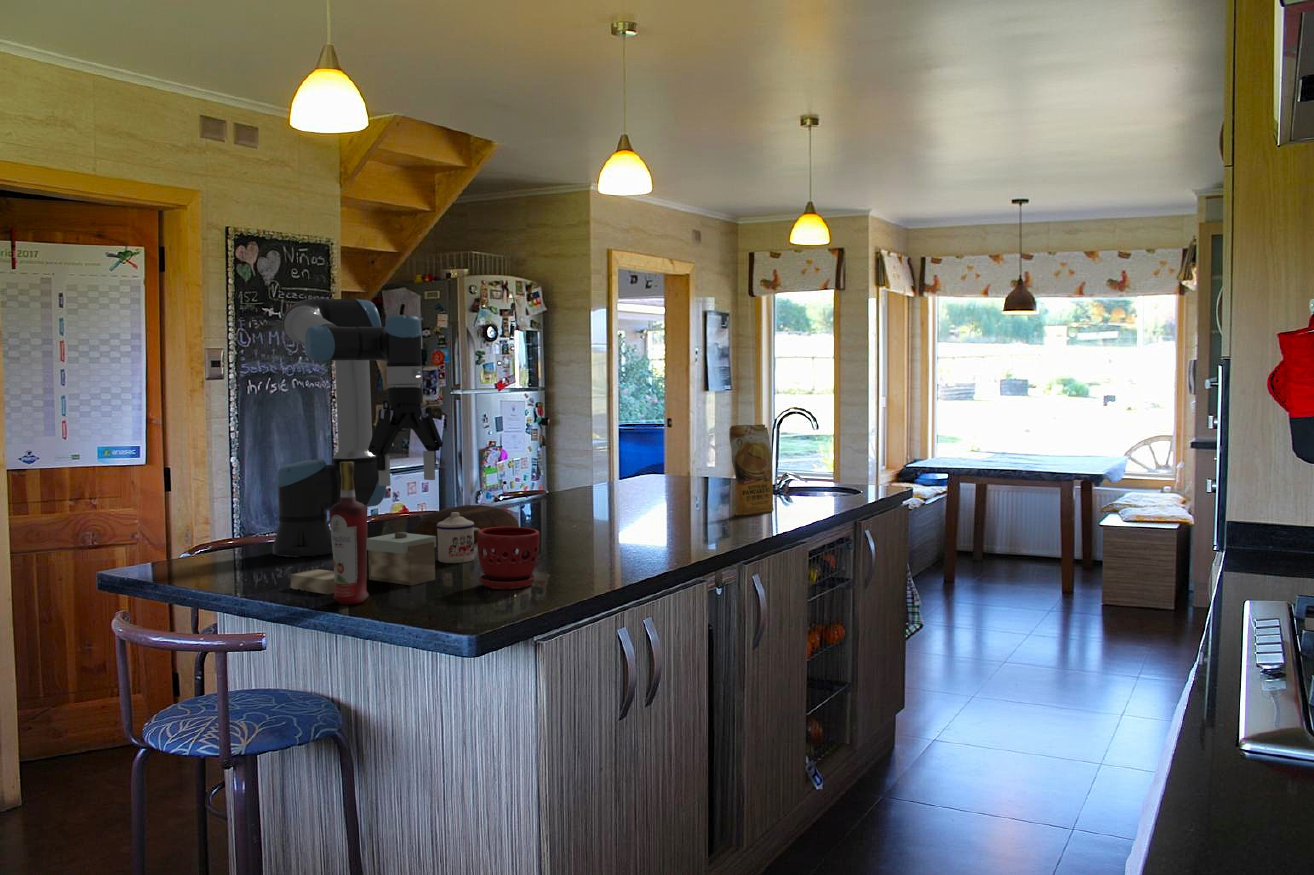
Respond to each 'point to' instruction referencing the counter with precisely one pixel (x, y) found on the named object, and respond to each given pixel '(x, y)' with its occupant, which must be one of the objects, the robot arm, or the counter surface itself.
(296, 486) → the robot arm
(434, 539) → the lid
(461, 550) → the teacup with lid
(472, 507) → the bread
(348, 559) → the liquor
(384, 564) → the wooden box
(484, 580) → the plant pot
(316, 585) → the stand
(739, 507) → the pancake mix bag
